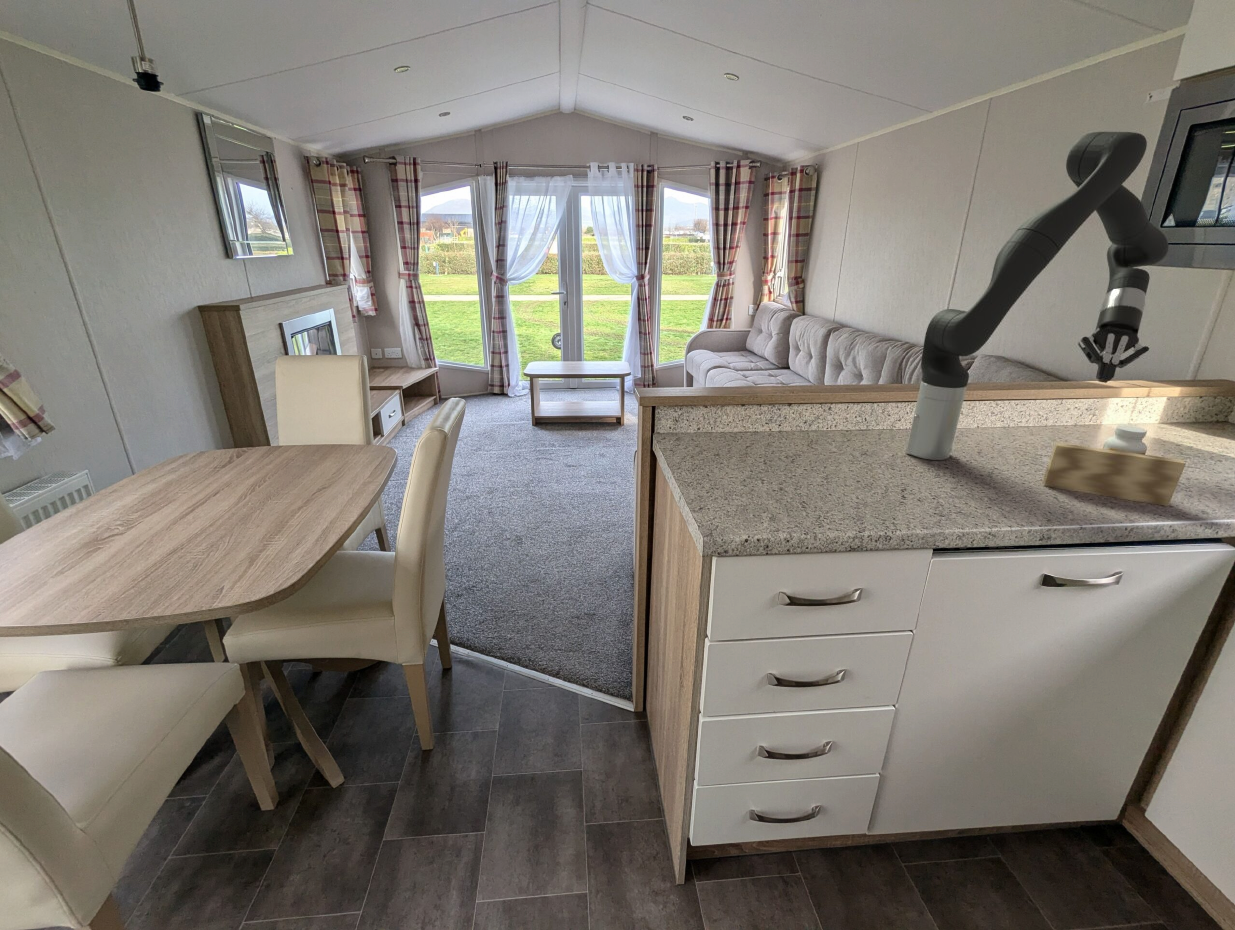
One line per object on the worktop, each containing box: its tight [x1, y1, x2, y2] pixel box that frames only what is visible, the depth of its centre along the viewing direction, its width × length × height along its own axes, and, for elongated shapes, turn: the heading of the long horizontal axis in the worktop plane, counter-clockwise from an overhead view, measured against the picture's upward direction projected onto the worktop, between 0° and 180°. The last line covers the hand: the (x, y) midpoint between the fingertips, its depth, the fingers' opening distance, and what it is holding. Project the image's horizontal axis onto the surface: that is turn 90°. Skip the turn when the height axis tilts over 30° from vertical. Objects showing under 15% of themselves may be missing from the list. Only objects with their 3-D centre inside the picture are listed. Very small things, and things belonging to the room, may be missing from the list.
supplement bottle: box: [1102, 424, 1148, 455], centre depth 117 cm, size 7×7×13 cm
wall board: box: [1042, 442, 1187, 507], centre depth 116 cm, size 20×6×9 cm, turn 62°
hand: (1104, 380), depth 128 cm, fingers closed
